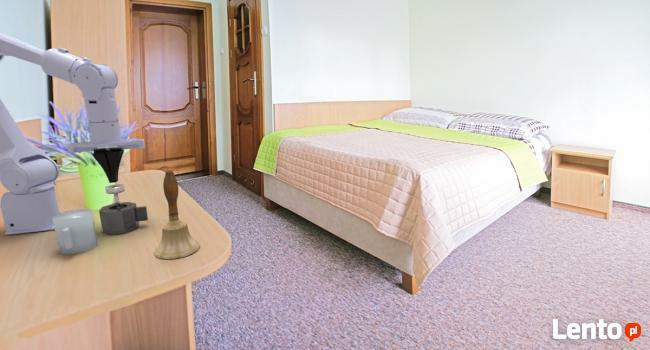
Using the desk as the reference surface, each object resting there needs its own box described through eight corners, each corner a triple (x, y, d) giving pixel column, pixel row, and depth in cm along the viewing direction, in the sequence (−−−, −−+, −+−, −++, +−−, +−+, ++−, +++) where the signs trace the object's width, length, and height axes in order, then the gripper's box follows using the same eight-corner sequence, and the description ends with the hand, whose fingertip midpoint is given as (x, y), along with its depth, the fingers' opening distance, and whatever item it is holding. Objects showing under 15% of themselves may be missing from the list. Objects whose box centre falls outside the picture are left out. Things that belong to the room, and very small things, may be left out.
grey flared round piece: (107, 216, 76) (103, 189, 75) (112, 211, 80) (107, 185, 78) (126, 214, 77) (122, 187, 76) (129, 209, 81) (125, 183, 79)
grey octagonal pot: (100, 236, 75) (96, 213, 74) (108, 225, 81) (104, 204, 80) (146, 230, 78) (143, 208, 77) (150, 220, 84) (147, 199, 83)
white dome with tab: (49, 261, 64) (42, 225, 63) (66, 243, 72) (60, 211, 70) (89, 255, 66) (83, 221, 65) (101, 238, 74) (96, 207, 72)
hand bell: (163, 242, 72) (153, 167, 68) (204, 240, 73) (197, 165, 69) (147, 261, 64) (135, 177, 60) (193, 258, 65) (184, 175, 61)
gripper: (57, 124, 70) (70, 189, 73) (137, 121, 74) (146, 182, 78) (69, 121, 76) (80, 181, 80) (142, 119, 81) (150, 175, 84)
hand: (113, 181), depth 79 cm, fingers closed
